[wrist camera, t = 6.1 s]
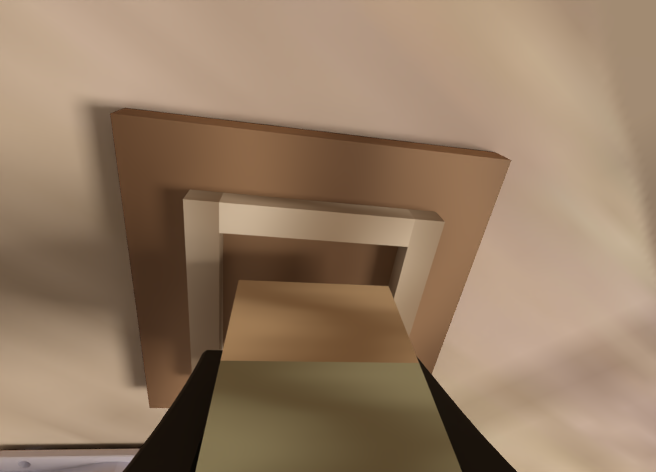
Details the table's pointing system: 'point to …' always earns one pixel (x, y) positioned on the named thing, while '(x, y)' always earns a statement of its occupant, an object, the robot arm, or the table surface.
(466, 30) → the table surface
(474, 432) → the robot arm
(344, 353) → the stack
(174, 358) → the plate
